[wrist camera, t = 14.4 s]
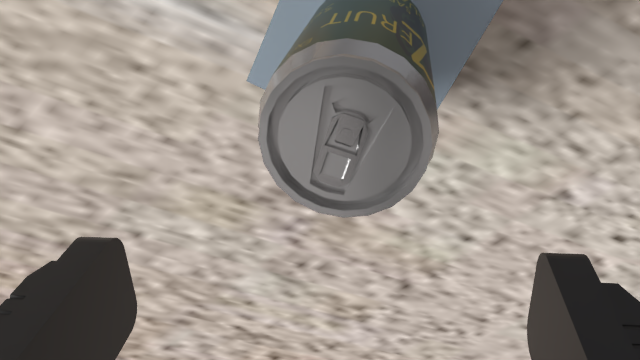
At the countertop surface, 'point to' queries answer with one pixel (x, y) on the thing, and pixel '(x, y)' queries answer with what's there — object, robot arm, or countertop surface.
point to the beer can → (352, 109)
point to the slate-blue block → (441, 27)
